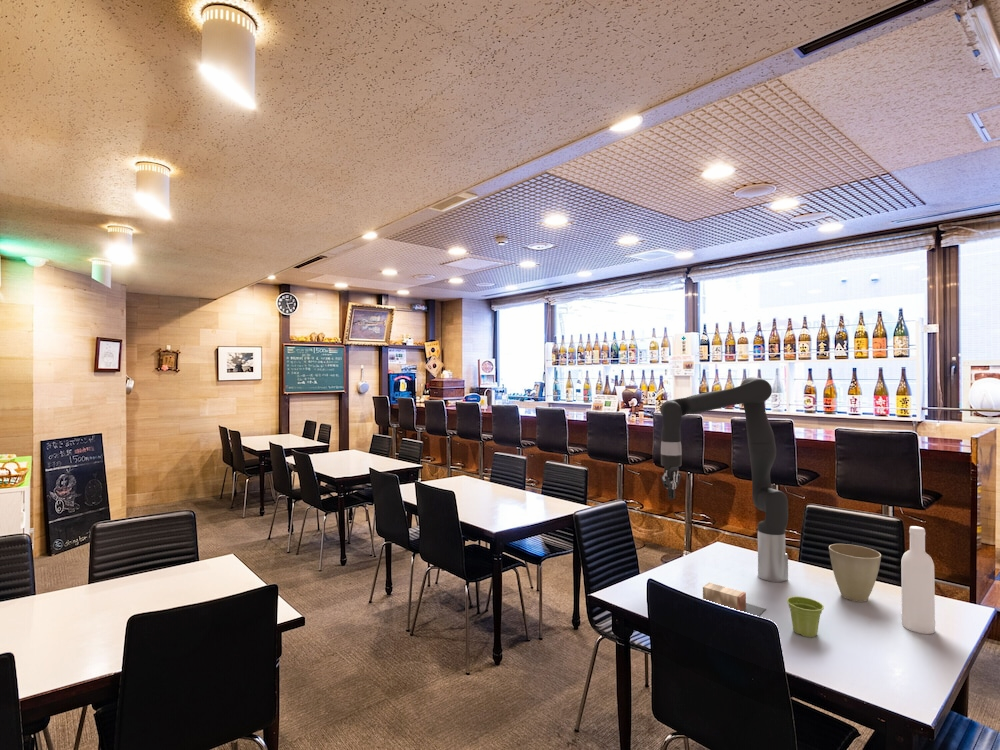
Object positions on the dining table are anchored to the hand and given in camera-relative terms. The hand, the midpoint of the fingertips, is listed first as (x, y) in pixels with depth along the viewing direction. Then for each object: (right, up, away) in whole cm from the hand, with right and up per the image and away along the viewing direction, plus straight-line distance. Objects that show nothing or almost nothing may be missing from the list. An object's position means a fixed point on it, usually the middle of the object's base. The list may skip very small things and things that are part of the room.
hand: (671, 498), depth 201 cm
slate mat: (+10, -29, -30) cm, 43 cm away
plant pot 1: (+24, -29, -46) cm, 60 cm away
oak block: (+4, -26, -24) cm, 35 cm away
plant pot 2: (+55, -29, -22) cm, 66 cm away
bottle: (+59, -29, -44) cm, 79 cm away
